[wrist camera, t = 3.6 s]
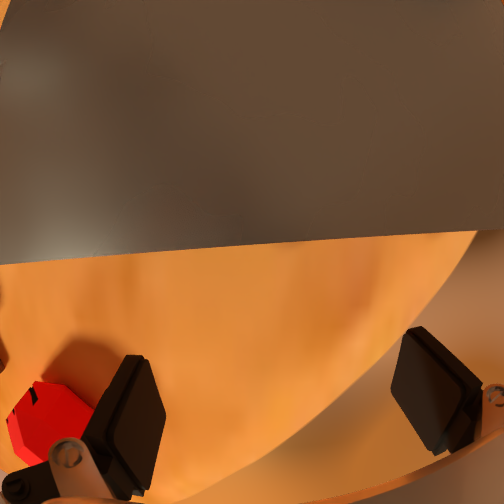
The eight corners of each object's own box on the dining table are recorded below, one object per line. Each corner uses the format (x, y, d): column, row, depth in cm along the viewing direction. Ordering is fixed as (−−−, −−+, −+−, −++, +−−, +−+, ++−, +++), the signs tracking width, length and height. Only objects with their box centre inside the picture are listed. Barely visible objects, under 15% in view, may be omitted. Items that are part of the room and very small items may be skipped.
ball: (55, 356, 17) (6, 417, 9) (130, 421, 19) (105, 492, 11) (28, 390, 18) (-8, 439, 10) (90, 443, 20) (67, 498, 12)
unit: (159, 81, 13) (38, -53, 1) (338, 74, 13) (477, -40, 2) (164, 204, 15) (-6, 278, 3) (348, 192, 15) (541, 236, 3)
